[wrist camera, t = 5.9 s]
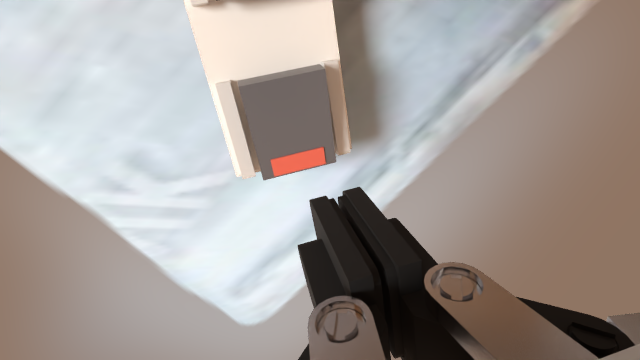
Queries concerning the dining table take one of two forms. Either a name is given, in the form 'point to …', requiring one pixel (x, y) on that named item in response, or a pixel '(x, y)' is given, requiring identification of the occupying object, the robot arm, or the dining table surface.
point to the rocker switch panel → (265, 60)
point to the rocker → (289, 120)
